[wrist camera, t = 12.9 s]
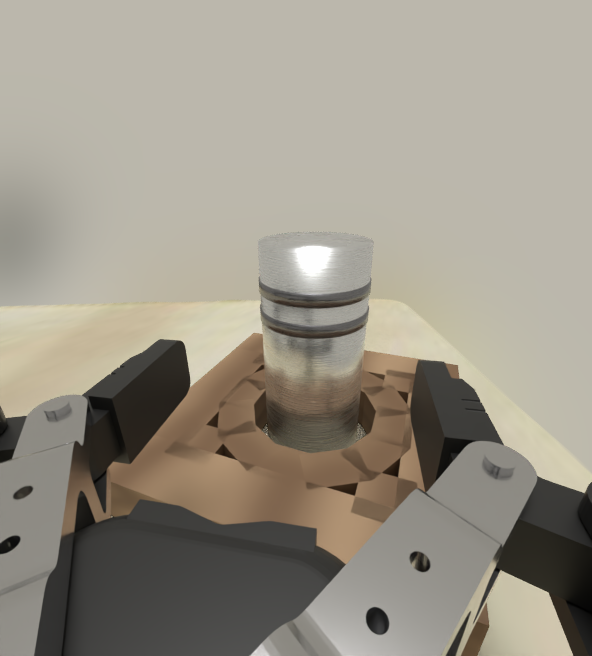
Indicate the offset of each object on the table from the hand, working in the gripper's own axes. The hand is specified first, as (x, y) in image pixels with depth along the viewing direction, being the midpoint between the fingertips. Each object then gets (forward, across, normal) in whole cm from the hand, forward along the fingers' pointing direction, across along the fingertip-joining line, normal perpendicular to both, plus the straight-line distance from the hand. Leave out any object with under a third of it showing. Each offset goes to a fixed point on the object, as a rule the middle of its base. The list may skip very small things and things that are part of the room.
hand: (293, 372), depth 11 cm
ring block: (+6, 0, +8) cm, 10 cm away
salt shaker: (+6, 0, +8) cm, 10 cm away
